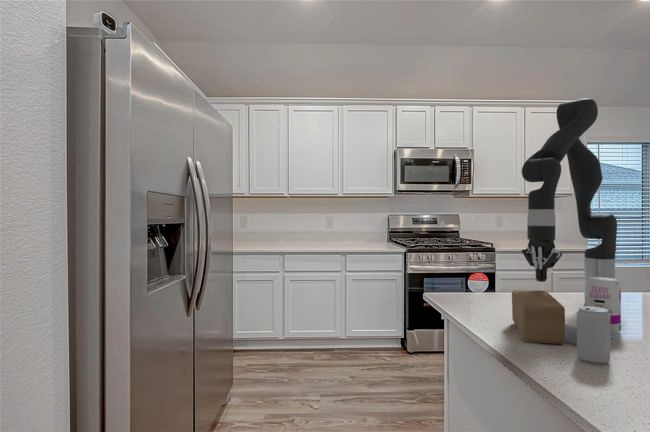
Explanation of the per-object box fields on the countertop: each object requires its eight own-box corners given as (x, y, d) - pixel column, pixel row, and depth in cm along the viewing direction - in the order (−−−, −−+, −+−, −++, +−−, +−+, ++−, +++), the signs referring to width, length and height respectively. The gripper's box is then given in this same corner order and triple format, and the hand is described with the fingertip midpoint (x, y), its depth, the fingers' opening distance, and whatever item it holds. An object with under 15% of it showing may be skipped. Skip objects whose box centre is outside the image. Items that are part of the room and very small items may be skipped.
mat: (553, 322, 125) (553, 321, 125) (612, 339, 109) (612, 337, 109) (518, 326, 120) (518, 325, 120) (575, 345, 104) (575, 344, 104)
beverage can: (570, 356, 96) (570, 305, 96) (596, 355, 96) (596, 304, 96) (590, 366, 90) (590, 312, 89) (617, 365, 90) (617, 311, 90)
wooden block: (548, 323, 122) (566, 345, 103) (512, 321, 125) (523, 342, 106) (547, 290, 122) (565, 306, 103) (511, 289, 125) (522, 304, 106)
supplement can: (614, 328, 118) (614, 277, 118) (625, 336, 111) (625, 281, 111) (582, 325, 121) (582, 275, 121) (590, 333, 113) (590, 280, 113)
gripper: (570, 224, 118) (570, 284, 119) (532, 223, 131) (532, 277, 131) (551, 225, 116) (551, 285, 116) (514, 224, 128) (514, 278, 128)
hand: (541, 281), depth 123 cm, fingers closed
